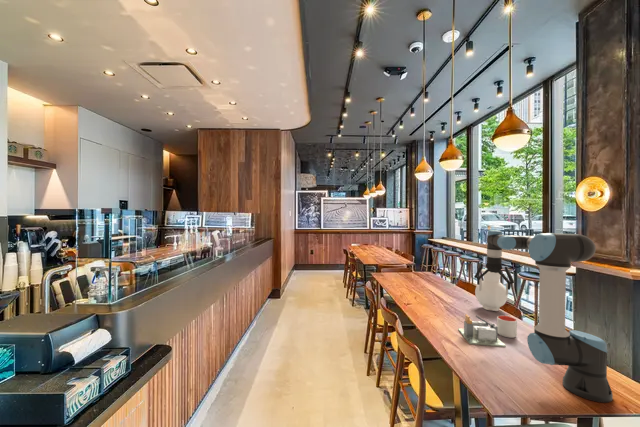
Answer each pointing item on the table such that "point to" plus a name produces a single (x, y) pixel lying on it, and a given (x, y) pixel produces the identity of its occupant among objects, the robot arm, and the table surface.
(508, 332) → the cup
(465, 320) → the clip
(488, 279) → the vase
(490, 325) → the strap
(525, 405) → the table surface
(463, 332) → the grey table caddy
